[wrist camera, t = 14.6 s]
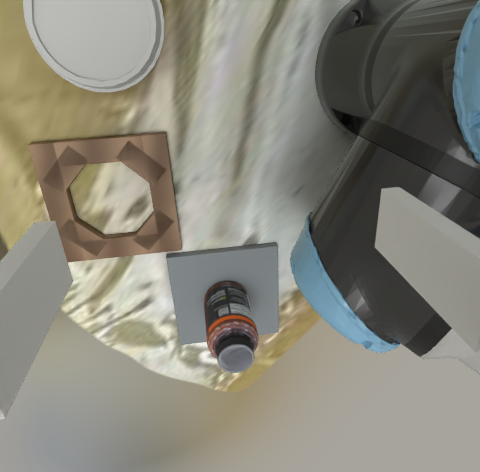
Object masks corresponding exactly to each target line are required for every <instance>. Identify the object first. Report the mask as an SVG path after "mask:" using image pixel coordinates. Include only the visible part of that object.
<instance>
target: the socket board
mask: <svg viewBox="0 0 480 472" xmlns="http://www.w3.org/2000/svg"><path fill="white" fill-rule="evenodd" d="M28 148H29V151H30V154H31V157H32V161H33V164H34V167H35V171H36V174H37V177H38V180H39V184H40V187H41V190H42V194H43V197H44V200H45V204H46V207H47V210H48V213H49V217H50V220H51V221H55V222H56V225H57V229H58V232H59V236H60V239H61V242H62V246H63V249H64V252H65V256H66V259H67V262H74V261H84V260H93V259H103V258H112V257H121V256H131V255H140V254H149V253H159V252H168V251H178V250H182V244H181V237H180V229H179V222H178V215H177V208H176V201H175V193H174V186H173V179H172V172H171V165H170V157H169V150H168V143H167V136H166V132H157V133H144V134H132V135H119V136H106V137H94V138H81V139H68V140H56V141H43V142H32V143H30V144H28ZM119 161H121V162H122V163H123V164H125V165H126V166H127V167H129V168H130V169H132V170H133V171H134V172H136V173H137V174H138V175H140V176H141V177H142V178H144V179H145V180H146V181H148V182H149V184H150V190H151V196H152V202H153V208H154V212H153V213H152V214H151V215H150V216H149V218H148V219H147V220H146V221H145V222H144V224H143V225H142V226H141V227H140V228H139V229H138V231H137V232H130V233H120V234H110V235H104V234H103V233H101V232H100V231H98V230H96V229H95V228H93V227H92V226H90V225H89V224H87V223H86V222H84V221H82V220H81V219H79V218H78V217H77V215H76V211H75V208H74V204H73V200H72V196H71V193H70V189H69V186H70V184H71V183H72V182H73V180H74V179H75V178H76V176H77V175H78V174H79V172H80V171H81V170H82V168H83V167H84V166H85V164H95V163H107V162H119Z"/></svg>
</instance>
